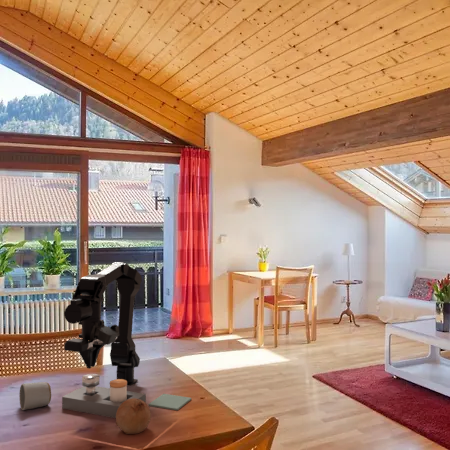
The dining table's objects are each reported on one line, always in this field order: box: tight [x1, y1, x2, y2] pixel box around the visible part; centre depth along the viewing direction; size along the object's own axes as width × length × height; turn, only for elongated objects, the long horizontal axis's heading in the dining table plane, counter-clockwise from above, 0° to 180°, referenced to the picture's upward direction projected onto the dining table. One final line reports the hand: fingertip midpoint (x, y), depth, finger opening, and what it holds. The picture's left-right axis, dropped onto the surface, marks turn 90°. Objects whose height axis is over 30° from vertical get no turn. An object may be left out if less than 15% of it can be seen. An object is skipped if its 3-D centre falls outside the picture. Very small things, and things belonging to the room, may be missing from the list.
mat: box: [147, 393, 192, 412], centre depth 158 cm, size 10×10×1 cm
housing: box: [61, 385, 147, 419], centre depth 154 cm, size 12×22×4 cm, turn 69°
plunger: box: [81, 373, 101, 396], centre depth 156 cm, size 5×5×7 cm
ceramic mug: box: [18, 381, 52, 411], centre depth 156 cm, size 11×8×8 cm
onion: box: [115, 398, 152, 435], centre depth 138 cm, size 10×9×10 cm
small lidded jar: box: [109, 378, 128, 403], centre depth 152 cm, size 5×5×8 cm
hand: (90, 367), depth 156 cm, fingers closed
